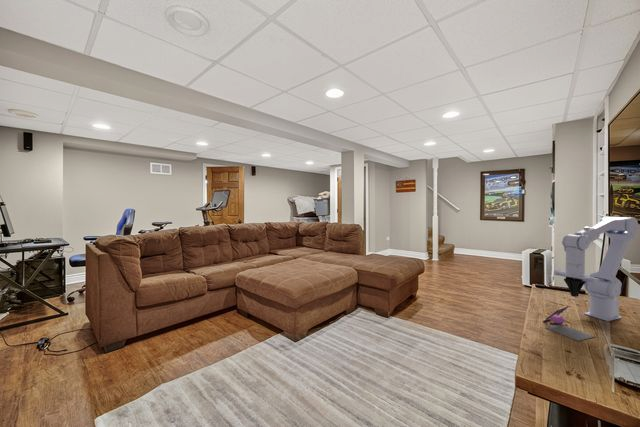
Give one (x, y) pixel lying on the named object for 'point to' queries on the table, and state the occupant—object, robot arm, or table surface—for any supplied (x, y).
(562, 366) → the table surface
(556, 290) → the table surface
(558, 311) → the purple monster photo frame
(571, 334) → the mat
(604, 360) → the table surface
